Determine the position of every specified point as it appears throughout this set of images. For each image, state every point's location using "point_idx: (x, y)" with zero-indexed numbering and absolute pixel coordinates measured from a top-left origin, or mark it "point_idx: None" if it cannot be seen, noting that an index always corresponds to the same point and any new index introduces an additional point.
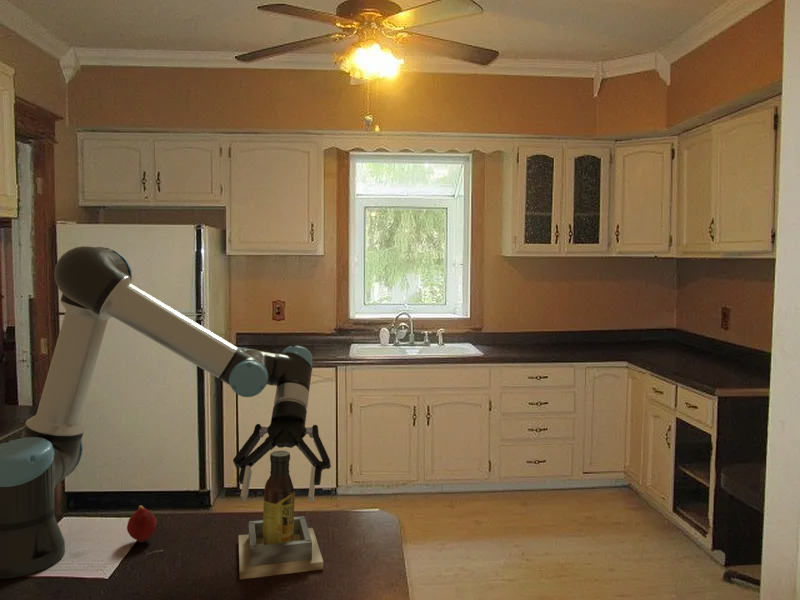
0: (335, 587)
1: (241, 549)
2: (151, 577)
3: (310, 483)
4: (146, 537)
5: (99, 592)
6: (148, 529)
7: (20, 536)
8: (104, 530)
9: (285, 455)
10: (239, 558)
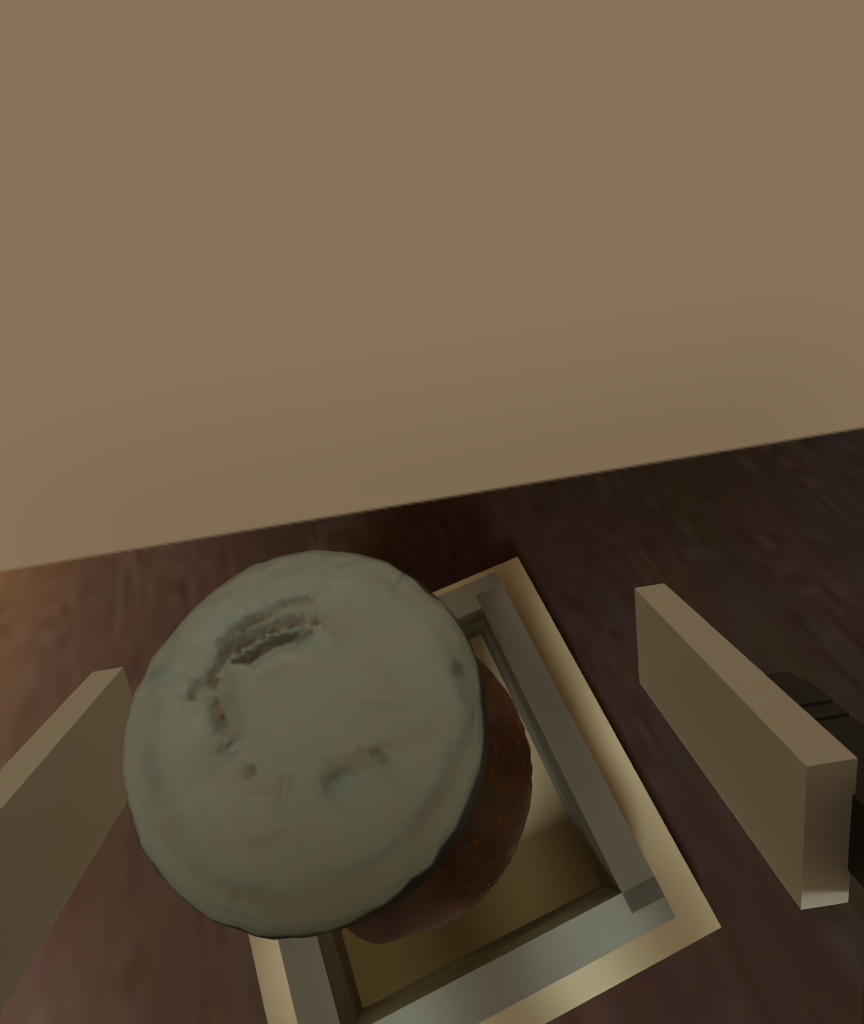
0: (157, 579)
1: (608, 746)
2: (848, 527)
3: (54, 738)
4: None
5: None
6: None
7: None
8: None
9: (186, 618)
10: (572, 657)
